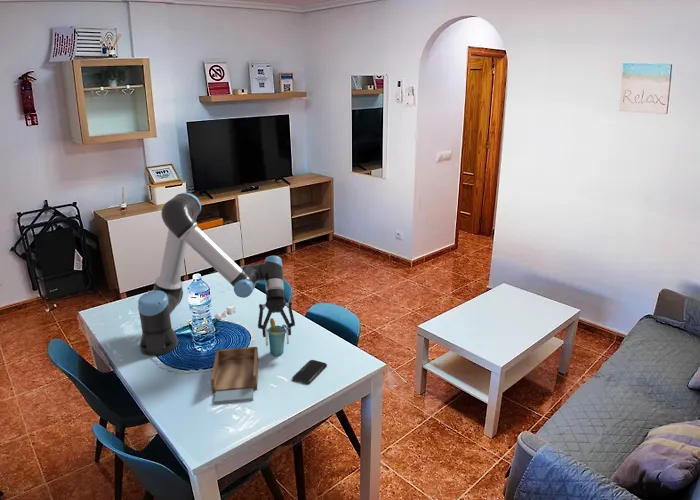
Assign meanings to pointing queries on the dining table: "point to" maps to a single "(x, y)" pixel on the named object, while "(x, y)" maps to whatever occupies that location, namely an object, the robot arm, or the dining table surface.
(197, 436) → the dining table surface
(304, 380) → the phone
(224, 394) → the panel
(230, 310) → the game pieces
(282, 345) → the cup
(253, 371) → the tray
